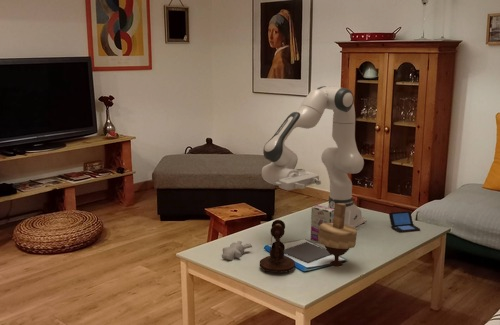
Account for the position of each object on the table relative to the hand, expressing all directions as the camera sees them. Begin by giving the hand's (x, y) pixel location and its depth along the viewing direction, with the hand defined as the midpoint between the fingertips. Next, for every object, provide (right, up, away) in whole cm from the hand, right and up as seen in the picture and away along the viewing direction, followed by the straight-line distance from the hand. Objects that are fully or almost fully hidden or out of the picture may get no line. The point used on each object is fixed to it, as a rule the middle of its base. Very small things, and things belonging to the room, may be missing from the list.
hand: (312, 184), depth 235 cm
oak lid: (+9, -24, -7) cm, 27 cm away
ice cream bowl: (+10, -34, -5) cm, 35 cm away
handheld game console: (+51, -24, +41) cm, 69 cm away
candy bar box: (+7, -28, +22) cm, 36 cm away
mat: (-1, -31, +8) cm, 32 cm away
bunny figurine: (-33, -31, +5) cm, 46 cm away
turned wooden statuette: (-16, -34, -9) cm, 39 cm away
